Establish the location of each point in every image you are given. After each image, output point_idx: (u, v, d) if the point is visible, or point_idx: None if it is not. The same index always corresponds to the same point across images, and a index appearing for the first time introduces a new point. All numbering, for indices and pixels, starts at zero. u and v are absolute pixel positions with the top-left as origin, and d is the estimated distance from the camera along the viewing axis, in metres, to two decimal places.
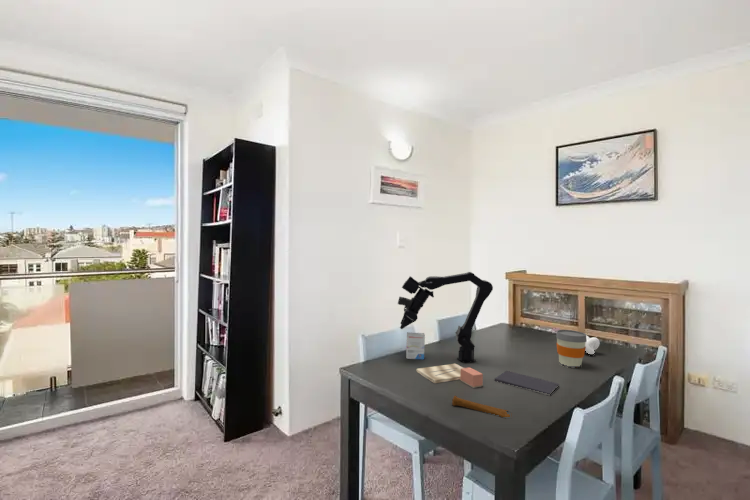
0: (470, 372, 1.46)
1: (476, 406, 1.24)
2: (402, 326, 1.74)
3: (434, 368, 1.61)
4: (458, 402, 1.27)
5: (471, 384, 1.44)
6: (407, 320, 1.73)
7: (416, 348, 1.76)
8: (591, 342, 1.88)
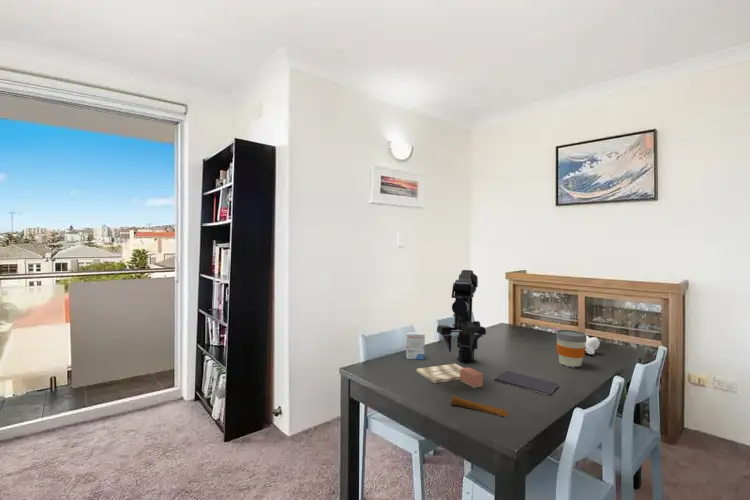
0: (470, 373, 1.46)
1: (475, 405, 1.25)
2: None
3: (434, 368, 1.61)
4: (457, 401, 1.27)
5: (472, 384, 1.44)
6: None
7: (416, 348, 1.76)
8: (591, 342, 1.88)
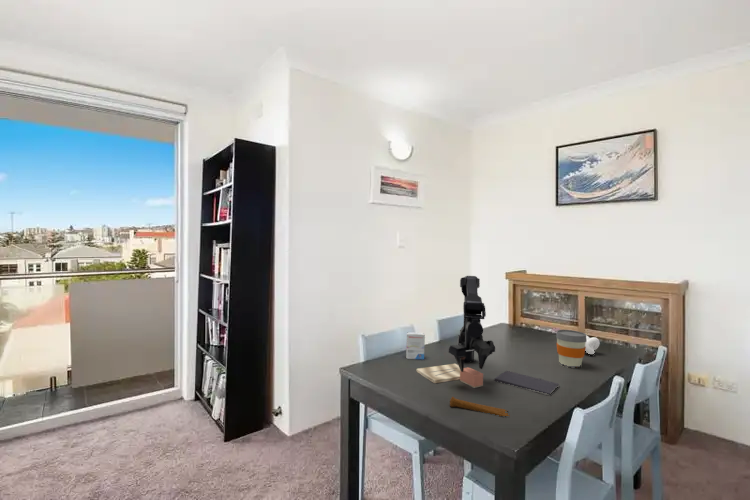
0: (470, 373, 1.46)
1: (474, 406, 1.24)
2: None
3: (434, 368, 1.61)
4: (456, 403, 1.26)
5: (472, 384, 1.44)
6: None
7: (416, 348, 1.76)
8: (591, 342, 1.88)
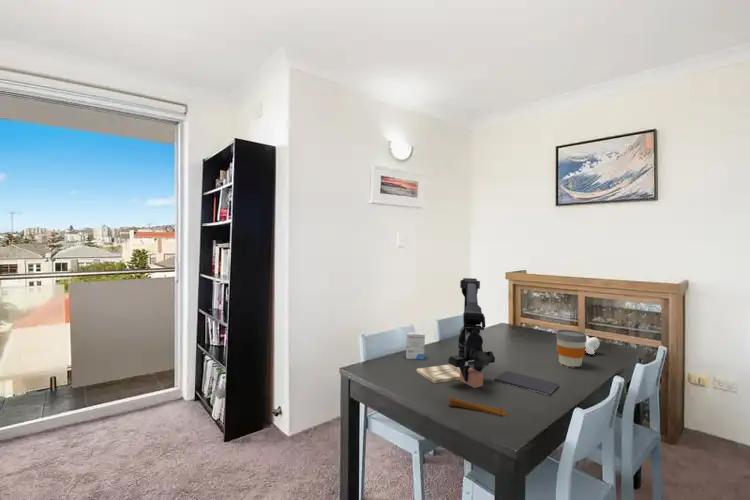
0: (470, 372, 1.46)
1: (473, 406, 1.25)
2: None
3: (434, 368, 1.61)
4: (455, 402, 1.26)
5: (472, 384, 1.44)
6: None
7: (416, 348, 1.76)
8: (591, 342, 1.88)
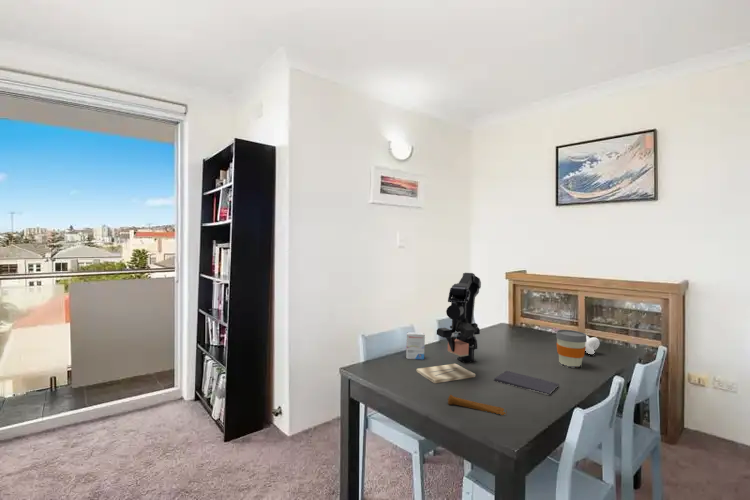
0: (457, 343, 1.58)
1: (472, 404, 1.26)
2: None
3: (434, 368, 1.61)
4: (454, 400, 1.28)
5: (458, 353, 1.56)
6: None
7: (416, 348, 1.76)
8: (591, 342, 1.88)
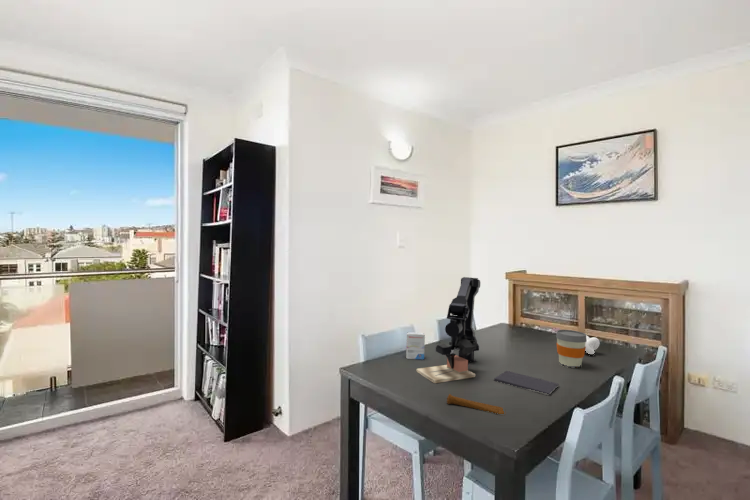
0: (456, 359, 1.58)
1: (471, 404, 1.26)
2: None
3: (434, 368, 1.61)
4: (453, 400, 1.28)
5: (457, 370, 1.56)
6: None
7: (416, 348, 1.76)
8: (591, 342, 1.88)
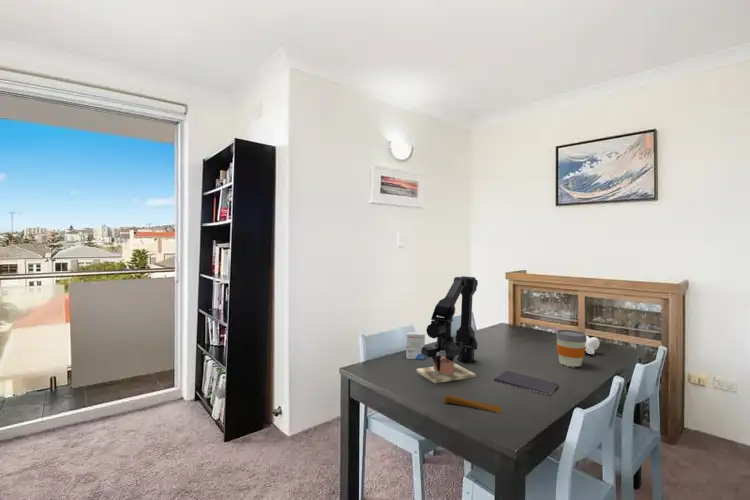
0: (442, 361, 1.55)
1: (469, 403, 1.27)
2: None
3: None
4: (451, 399, 1.29)
5: (443, 372, 1.53)
6: None
7: (416, 348, 1.76)
8: (591, 342, 1.88)
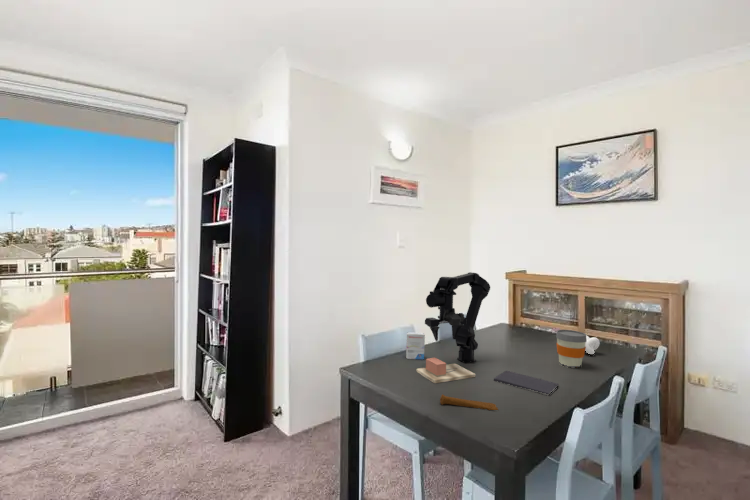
0: (434, 362, 1.53)
1: (464, 402, 1.27)
2: None
3: None
4: (447, 400, 1.28)
5: (435, 373, 1.52)
6: None
7: (416, 348, 1.76)
8: (591, 342, 1.89)
